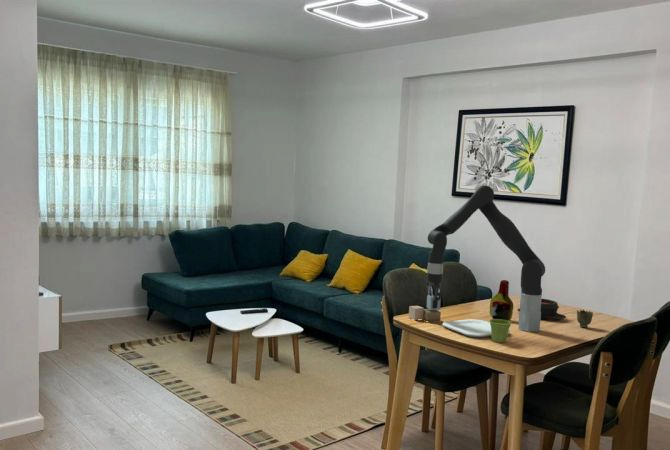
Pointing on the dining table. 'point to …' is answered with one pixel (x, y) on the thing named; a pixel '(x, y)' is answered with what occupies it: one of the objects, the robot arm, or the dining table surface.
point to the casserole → (549, 310)
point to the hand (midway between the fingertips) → (432, 306)
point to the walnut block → (431, 315)
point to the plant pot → (499, 330)
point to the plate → (470, 327)
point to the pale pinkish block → (416, 312)
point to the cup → (584, 318)
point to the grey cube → (430, 303)
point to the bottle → (502, 303)
